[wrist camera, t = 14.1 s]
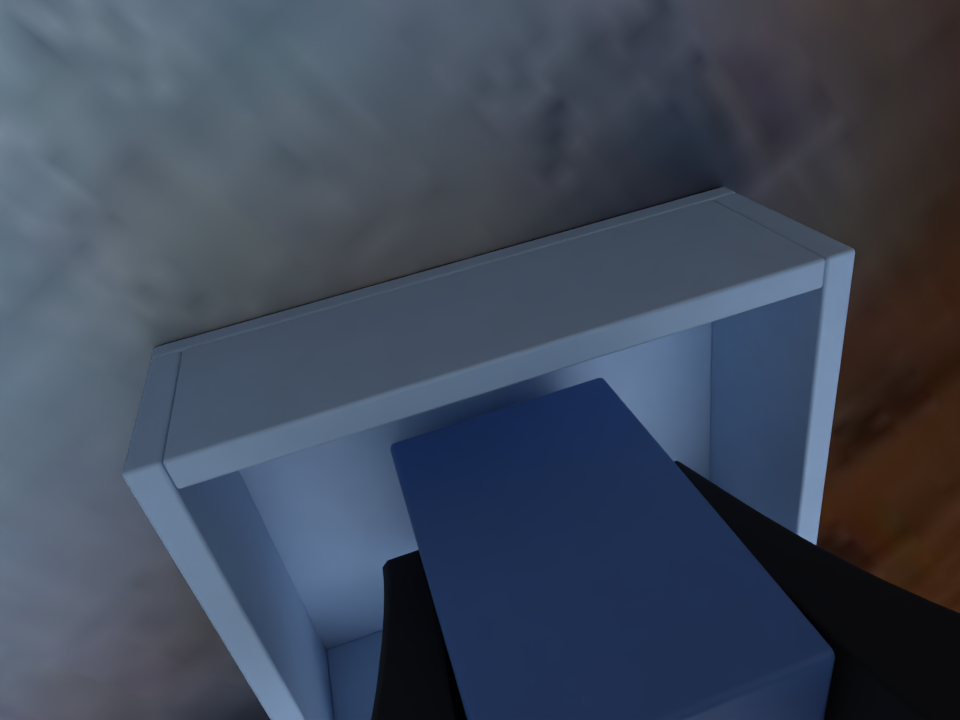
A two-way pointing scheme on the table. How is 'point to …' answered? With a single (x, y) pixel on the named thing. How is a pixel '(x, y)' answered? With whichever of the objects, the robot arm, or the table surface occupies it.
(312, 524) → the blue bin
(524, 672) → the blue block
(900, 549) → the table surface
